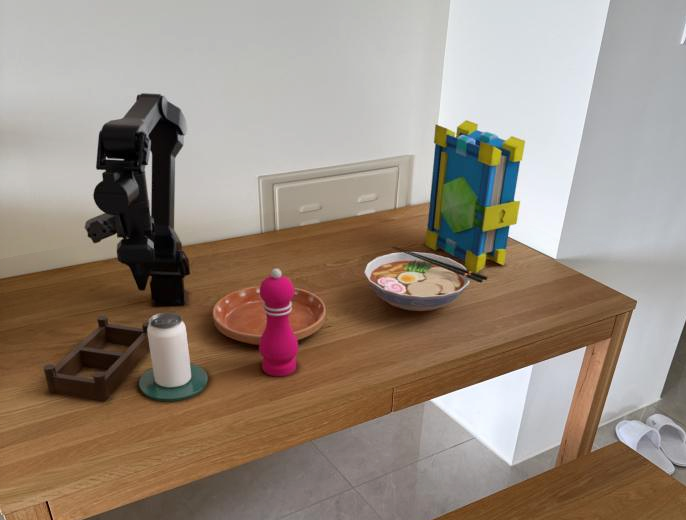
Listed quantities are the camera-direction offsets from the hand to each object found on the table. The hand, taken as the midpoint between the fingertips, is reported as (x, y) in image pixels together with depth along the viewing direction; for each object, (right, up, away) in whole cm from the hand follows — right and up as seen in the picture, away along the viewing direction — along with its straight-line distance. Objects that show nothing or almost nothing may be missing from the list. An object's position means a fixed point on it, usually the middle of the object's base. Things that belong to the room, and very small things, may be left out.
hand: (142, 280), depth 136 cm
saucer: (+23, -7, +12) cm, 27 cm away
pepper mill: (+26, -17, -1) cm, 31 cm away
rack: (-6, -17, -4) cm, 18 cm away
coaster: (+8, -19, -7) cm, 22 cm away
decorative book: (+67, +14, +46) cm, 83 cm away
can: (+8, -19, -7) cm, 22 cm away
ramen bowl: (+53, -1, +22) cm, 58 cm away
